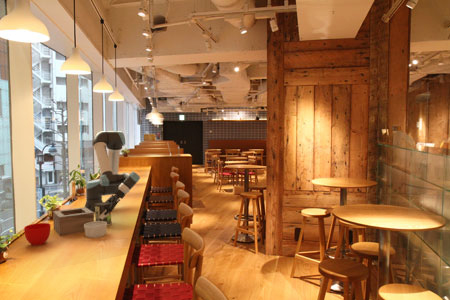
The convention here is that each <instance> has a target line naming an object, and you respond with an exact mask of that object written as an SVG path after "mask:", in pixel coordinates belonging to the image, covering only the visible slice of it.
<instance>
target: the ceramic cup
mask: <svg viewBox="0 0 450 300" xmlns="http://www.w3.org/2000/svg"><path fill="white" fill-rule="evenodd" d="M23 229H24V230H23V231H24V237H25V239H26V241H27V242H28V243H29V244H30V245H31V246H41V245H45V243H46V242H47V241H48V240H49V237H50V235H51V224H50V223H47V222H38V223H32V224H28V225H26V226H24V228H23Z"/></svg>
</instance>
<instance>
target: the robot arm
mask: <svg viewBox="0 0 450 300" xmlns="http://www.w3.org/2000/svg"><path fill="white" fill-rule="evenodd" d="M124 146H126V138H125V133H123V131H120V130H119V131H118V130H108V131H107V130H102V131H99V132H97V134H95V136H94V137H93V139H92V148H93V150H94V151H95V155H96V157H97V162H98V165H99V170H100V172H101V173H100V176H99V179H92V180H89V181H87V182H86V185H85V197H86V201H85V203H84V207H86V208H87V209H89V210H91V211H92V212H95V204H96V203H100V202H110V205H109V207H108V208H106V210H105V211H104V212H103V213H102V214H101V215H100V217H99V218H101V219H102V220H103V219H104V217H105V216H106V215H107V214H108V213H109V212H110V211H111V213H112V212H113V210H114V209H115V207H116V206H117V205H118V204H119V203H120V201H121V200H122V199H124V197H126V195H127V194H128V193H130V191H131V189H132V188H134V186H136V184H137V183H139V180H140V179H141V176H140V175H139V174H138V173H136V171H132V172H130V173H128V172H122V173H119V167H120V166H119V164H120V153H121V150H122V149H123V147H124ZM103 196H110V197H109V198H107V200H106V201H103Z"/></svg>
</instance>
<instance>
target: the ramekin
mask: <svg viewBox="0 0 450 300" xmlns="http://www.w3.org/2000/svg"><path fill="white" fill-rule="evenodd" d="M107 226H108V225H107V222H104V221H96V220H94V222H89V223H86V224H84V228H85V232H84V234H85V236H86V237H87V238H90V239H91V238H93V239H94V238H95V239H97V238H101V237H104V236H105V235H106V234H107V229H108V227H107Z"/></svg>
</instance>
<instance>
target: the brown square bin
mask: <svg viewBox="0 0 450 300" xmlns="http://www.w3.org/2000/svg"><path fill="white" fill-rule="evenodd" d="M94 212H95V211H91V210H89V209H87V208H86V207H85V206H84V207H83V206H82V207H77V208H69V209H67V208H66V209H60V210H53V211H52V218H53V219H52V221H53V225H52V226H53V230H54V231H55V232H56V233H57V235H58V236H60V237H61V236H68V235H74V234H79V233H85V228H84V224H86V223H89V222H94V221H95V213H94Z"/></svg>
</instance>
